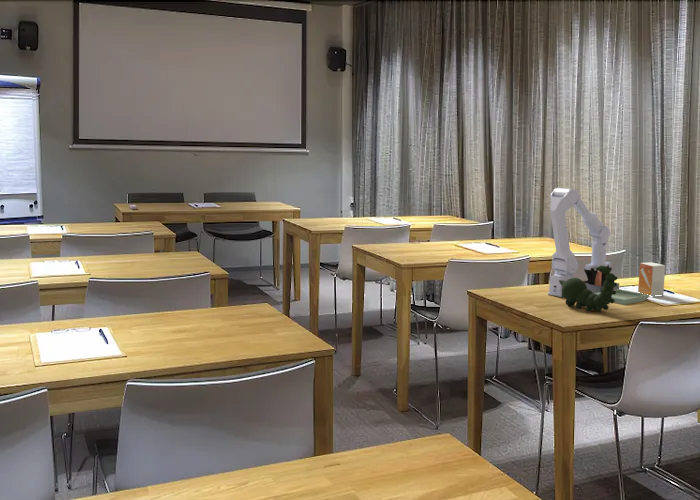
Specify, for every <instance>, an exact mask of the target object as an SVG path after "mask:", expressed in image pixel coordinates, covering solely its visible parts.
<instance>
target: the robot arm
mask: <svg viewBox="0 0 700 500" xmlns="http://www.w3.org/2000/svg"><path fill="white" fill-rule="evenodd" d="M550 202H551V203H550V209H549V213H550V218H551V219H550V220H551V225H552V226H551V227H552V231H553V239H554V246H555V252H554V253H553V254H552V255H551V256H552V257H551V258H552V262H551V268H552V269H553V271H554V274H553V275H552V276H550V278H549V286H548V287H549V288H548V289H549V290H548V291H549V292H547V295H550V296H555V297H558V298H563V297H562V285H561V284H560V282H559V280H563V281H566V280H568V279H570V278H574V275H575V274H576V272H577V271H578V269H579V262H578V261H577V258H576V256H575V255H576V254H574V252H573V251H572V250H571V248H570V246H571V245H570V240H569V233H568V227H567V219H566V212H568V211H569V210H570V209H571V208H572V207H573V208H574V209H575V210H576V211H577V213H579V215H580V216H581V217H582V219H581V221H582V222H583V224H584V225H585V226H586V228H587V229H588V231H589V232H588V233H589V236H590V237H592V240H591V241H592V242H591V244H592V245H591V246H592V247H591V262H590V263H588V264H585V268H584V270H583V272H584V273H585V275H586V278H587V280H588V282H589V284H592V285H595V278H596V275H597V273H598V272H602V271H601V270H598V271H596V268H597V267H598V266H606V267H608V268H609V270H610V273H612V272H611V271H612V269H613V267H612V262H611V261H606V259H607V246H608V245H607V244H608V241H609V238H610V236H611V231H610V228H609V227H608V226H607V225H604V224H603V222H602V220H600V218H599V217H598V214H597V213H596V212H591V211H589V208H588V207H587V205H586V204H585V202H584V201H583V200H582V198H581V193H580V192H579V191H578V190H577V189H576V188H564V187H556V188H554V189H553V190H552V192H551V193H550ZM605 280H606V275H605V274H604V273H603V272H602V276H601V284H604V281H605Z"/></svg>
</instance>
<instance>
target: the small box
mask: <svg viewBox="0 0 700 500" xmlns="http://www.w3.org/2000/svg"><path fill="white" fill-rule="evenodd" d="M638 274H639V275H638V286H637V287H638V289H637V293H638V292H640V293H643V294H648V295H651V296H655V295H663V296H664V293H665V292H664V291H665V277H666V275H665V274H666V265H665V264H660V263H656V262H651V261H650V262H649V261H647V262H640V263H639V273H638Z"/></svg>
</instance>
